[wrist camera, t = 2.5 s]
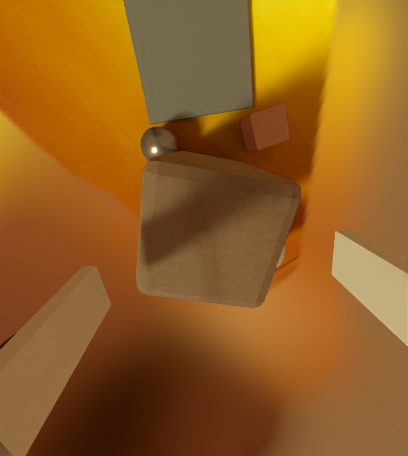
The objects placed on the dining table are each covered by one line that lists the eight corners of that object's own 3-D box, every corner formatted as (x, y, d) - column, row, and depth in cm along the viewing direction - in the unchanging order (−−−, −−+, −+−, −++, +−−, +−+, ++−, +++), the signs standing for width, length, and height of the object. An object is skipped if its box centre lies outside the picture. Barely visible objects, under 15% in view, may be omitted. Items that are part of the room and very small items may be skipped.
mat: (121, -13, 23) (119, -17, 23) (244, -36, 23) (245, -40, 22) (151, 124, 28) (150, 123, 28) (252, 107, 28) (253, 106, 27)
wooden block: (243, 161, 30) (313, 184, 12) (229, 223, 34) (265, 315, 15) (177, 149, 30) (139, 152, 11) (169, 213, 33) (131, 299, 15)
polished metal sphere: (144, 132, 29) (136, 129, 25) (175, 126, 29) (172, 123, 25) (152, 164, 30) (145, 166, 27) (181, 159, 30) (178, 161, 26)
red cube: (239, 121, 28) (249, 114, 23) (267, 110, 28) (284, 101, 22) (246, 150, 30) (257, 150, 24) (273, 140, 29) (290, 139, 24)
